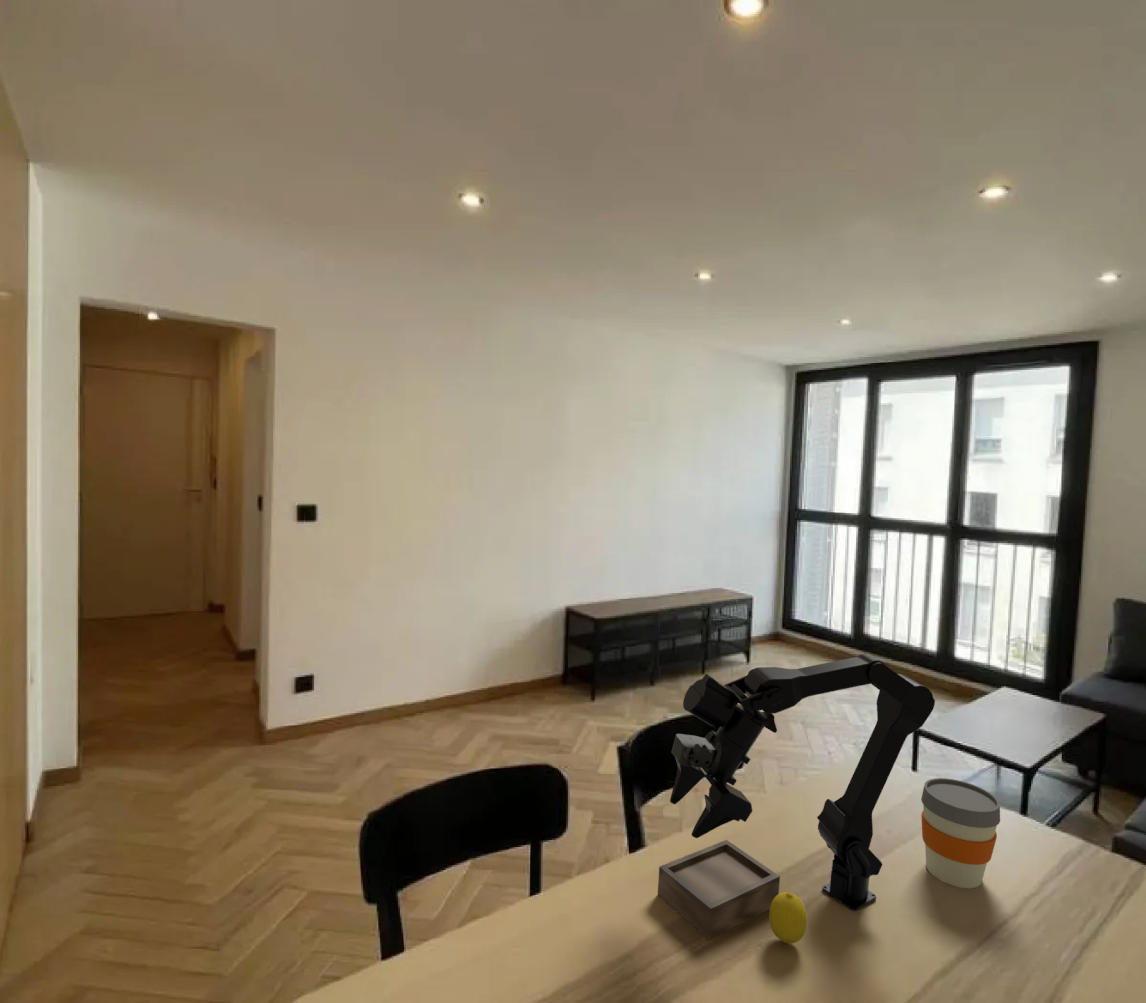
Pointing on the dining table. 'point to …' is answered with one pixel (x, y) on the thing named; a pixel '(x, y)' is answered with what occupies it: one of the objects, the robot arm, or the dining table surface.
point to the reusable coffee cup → (958, 830)
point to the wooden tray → (717, 887)
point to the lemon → (788, 917)
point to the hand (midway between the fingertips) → (682, 819)
